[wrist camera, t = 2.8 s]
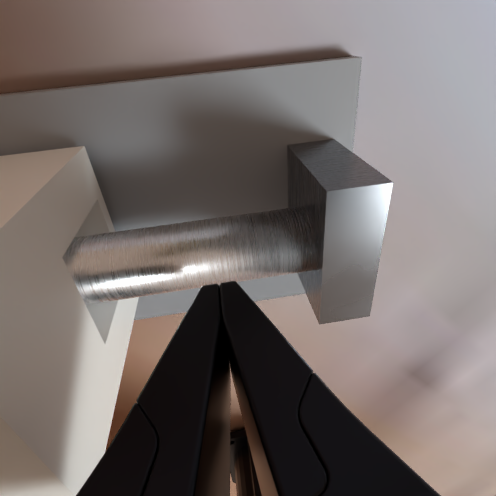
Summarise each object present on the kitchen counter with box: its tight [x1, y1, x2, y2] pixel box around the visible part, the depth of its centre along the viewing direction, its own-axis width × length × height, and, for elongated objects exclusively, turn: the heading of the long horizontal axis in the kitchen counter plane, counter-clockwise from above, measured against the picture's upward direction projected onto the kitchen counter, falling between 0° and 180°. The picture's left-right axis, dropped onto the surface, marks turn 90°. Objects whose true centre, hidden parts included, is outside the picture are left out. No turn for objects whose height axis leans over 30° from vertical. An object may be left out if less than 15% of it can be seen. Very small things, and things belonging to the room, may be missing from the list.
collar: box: [0, 146, 139, 496], centre depth 8 cm, size 4×6×7 cm, turn 5°
